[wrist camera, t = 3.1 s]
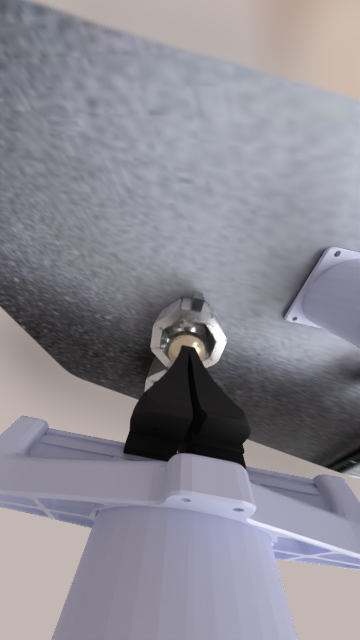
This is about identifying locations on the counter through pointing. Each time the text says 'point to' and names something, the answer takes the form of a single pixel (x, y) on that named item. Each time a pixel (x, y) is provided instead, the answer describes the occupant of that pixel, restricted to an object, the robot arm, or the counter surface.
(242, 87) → the counter surface
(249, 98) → the counter surface
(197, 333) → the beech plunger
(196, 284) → the counter surface
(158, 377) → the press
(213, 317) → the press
